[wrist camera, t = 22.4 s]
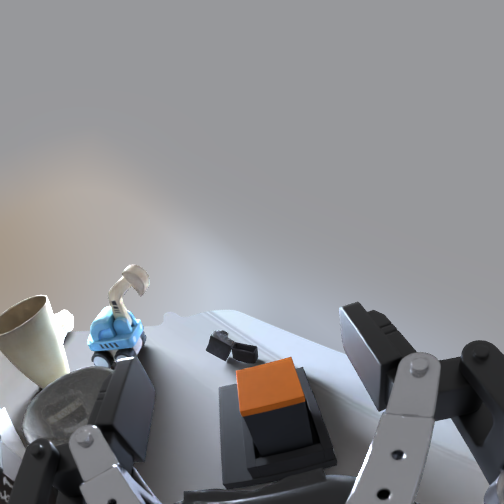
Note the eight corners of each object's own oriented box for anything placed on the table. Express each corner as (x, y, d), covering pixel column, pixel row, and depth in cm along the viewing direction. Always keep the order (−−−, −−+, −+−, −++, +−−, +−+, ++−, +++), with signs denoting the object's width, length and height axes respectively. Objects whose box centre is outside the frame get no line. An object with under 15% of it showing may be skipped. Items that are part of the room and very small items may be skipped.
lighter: (253, 365, 49) (264, 346, 46) (249, 373, 47) (259, 355, 44) (210, 342, 50) (217, 322, 47) (205, 350, 48) (212, 330, 45)
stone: (25, 339, 68) (17, 324, 66) (53, 318, 78) (45, 304, 76) (55, 353, 59) (45, 335, 57) (87, 326, 69) (79, 309, 67)
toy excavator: (170, 366, 49) (130, 277, 43) (94, 372, 50) (52, 295, 44) (180, 337, 57) (147, 256, 51) (109, 347, 58) (74, 274, 52)
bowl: (113, 384, 46) (91, 349, 43) (172, 431, 35) (147, 392, 32) (38, 438, 34) (10, 404, 31) (78, 507, 22) (37, 474, 20)
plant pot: (30, 374, 52) (-5, 314, 46) (81, 350, 58) (49, 287, 53) (28, 413, 39) (-20, 345, 34) (88, 387, 46) (45, 313, 41)
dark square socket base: (304, 374, 41) (300, 353, 39) (337, 465, 26) (335, 448, 24) (221, 394, 41) (213, 374, 39) (226, 489, 26) (214, 474, 24)
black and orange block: (304, 416, 32) (291, 356, 28) (315, 452, 27) (304, 395, 23) (258, 428, 32) (235, 370, 28) (264, 465, 27) (239, 411, 23)
